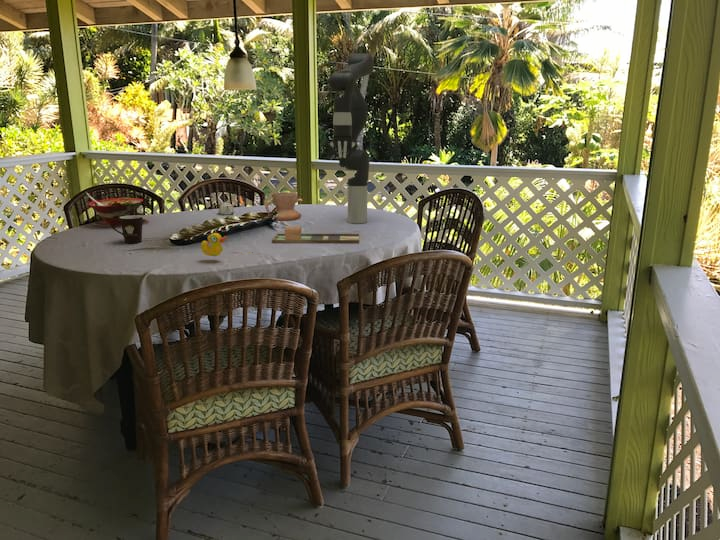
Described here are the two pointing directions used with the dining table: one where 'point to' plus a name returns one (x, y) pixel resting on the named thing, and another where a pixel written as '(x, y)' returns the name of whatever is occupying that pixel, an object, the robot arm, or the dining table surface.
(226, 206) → the grey rounded lump
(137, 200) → the stew
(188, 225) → the dining table surface
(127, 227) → the coffee mug
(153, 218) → the dining table surface
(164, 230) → the dining table surface
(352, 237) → the flat tray
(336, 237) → the trap pads
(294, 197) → the ceramic jug
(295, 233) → the terracotta block
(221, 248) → the duckling
